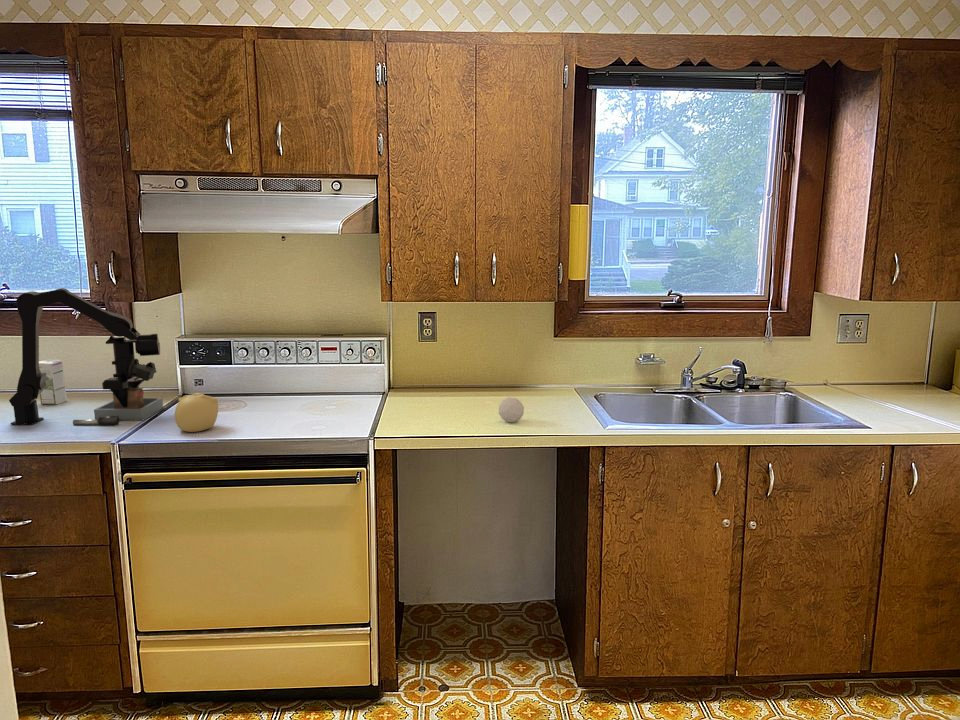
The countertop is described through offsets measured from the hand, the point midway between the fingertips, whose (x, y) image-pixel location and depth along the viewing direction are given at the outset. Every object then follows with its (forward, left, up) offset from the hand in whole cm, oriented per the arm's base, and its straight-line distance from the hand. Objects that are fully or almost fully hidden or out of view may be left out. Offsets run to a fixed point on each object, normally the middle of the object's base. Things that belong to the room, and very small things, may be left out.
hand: (129, 405), depth 223 cm
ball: (-10, -121, -3) cm, 122 cm away
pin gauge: (-12, +4, -3) cm, 13 cm away
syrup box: (+15, +33, -3) cm, 36 cm away
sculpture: (-17, -28, -3) cm, 33 cm away
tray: (0, 0, -3) cm, 3 cm away
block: (0, 0, -1) cm, 1 cm away
